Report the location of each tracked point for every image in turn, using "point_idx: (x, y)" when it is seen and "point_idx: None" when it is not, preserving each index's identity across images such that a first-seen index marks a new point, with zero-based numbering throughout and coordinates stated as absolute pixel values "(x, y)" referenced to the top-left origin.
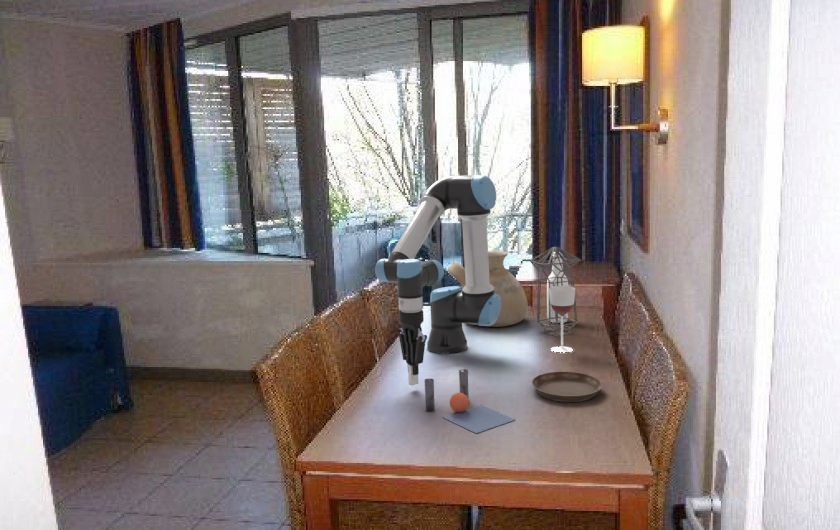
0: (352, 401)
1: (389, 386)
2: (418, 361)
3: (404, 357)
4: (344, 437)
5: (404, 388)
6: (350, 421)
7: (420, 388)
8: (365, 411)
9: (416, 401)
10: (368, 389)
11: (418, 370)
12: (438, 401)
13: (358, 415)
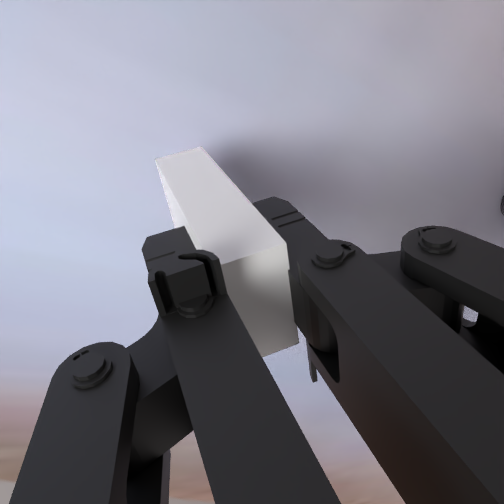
0: (194, 499)
1: (4, 327)
2: (461, 310)
3: (163, 469)
4: None
5: (107, 232)
6: (384, 481)
7: (168, 105)
8: (337, 446)
9: (383, 224)
10: (24, 450)
11: (301, 215)
12: (471, 94)
13: (356, 464)
